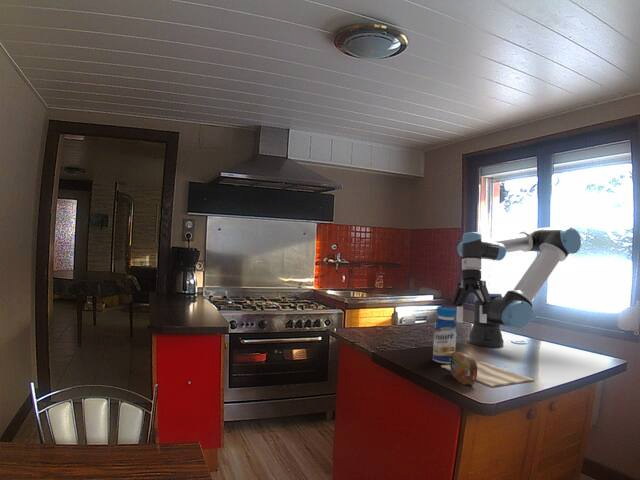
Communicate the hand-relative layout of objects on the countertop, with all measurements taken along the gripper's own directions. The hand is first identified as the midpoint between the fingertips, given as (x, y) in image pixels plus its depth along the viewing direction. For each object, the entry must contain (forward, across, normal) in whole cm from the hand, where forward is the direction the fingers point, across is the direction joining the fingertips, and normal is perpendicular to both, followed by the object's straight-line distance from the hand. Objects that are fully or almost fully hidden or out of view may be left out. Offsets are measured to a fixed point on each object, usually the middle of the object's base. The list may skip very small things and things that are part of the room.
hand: (470, 322), depth 169 cm
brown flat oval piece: (+20, +23, -22) cm, 38 cm away
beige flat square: (+18, +18, -9) cm, 27 cm away
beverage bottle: (+16, +2, -14) cm, 21 cm away
